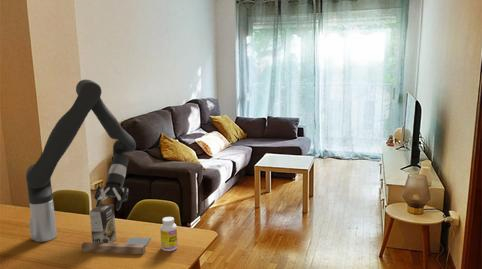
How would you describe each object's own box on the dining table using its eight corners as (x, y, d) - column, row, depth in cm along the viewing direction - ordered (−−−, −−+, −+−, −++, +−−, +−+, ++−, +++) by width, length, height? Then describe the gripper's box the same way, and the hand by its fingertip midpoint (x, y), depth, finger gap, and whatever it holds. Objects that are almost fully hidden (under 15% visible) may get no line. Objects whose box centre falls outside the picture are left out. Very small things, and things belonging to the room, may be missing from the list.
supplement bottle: (169, 253, 159) (167, 223, 157) (158, 249, 163) (156, 219, 161) (181, 246, 165) (179, 217, 162) (169, 242, 169) (168, 214, 166)
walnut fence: (82, 251, 162) (81, 245, 161) (84, 249, 164) (84, 242, 164) (143, 254, 159) (142, 247, 158) (145, 251, 161) (145, 244, 161)
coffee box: (106, 248, 164) (103, 212, 161) (92, 247, 165) (88, 211, 162) (117, 239, 173) (114, 204, 170) (103, 237, 174) (100, 203, 171)
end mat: (121, 249, 163) (121, 248, 163) (130, 238, 173) (130, 237, 173) (142, 250, 162) (142, 249, 162) (150, 239, 172) (150, 238, 172)
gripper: (98, 172, 178) (88, 205, 169) (128, 172, 177) (120, 206, 168) (104, 179, 184) (95, 212, 175) (134, 180, 183) (126, 213, 174)
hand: (107, 209), depth 171 cm, fingers open, 8 cm apart
